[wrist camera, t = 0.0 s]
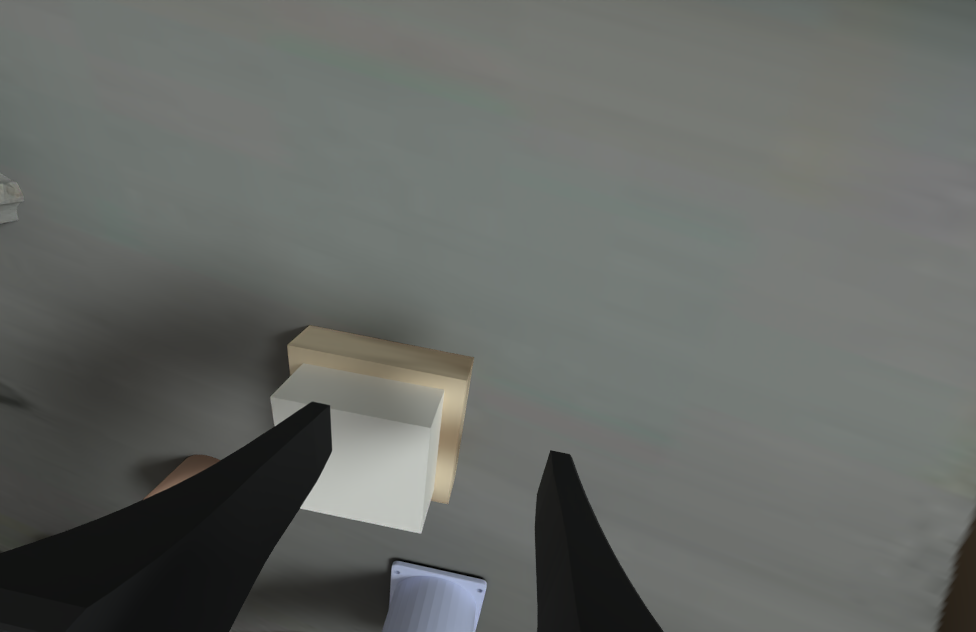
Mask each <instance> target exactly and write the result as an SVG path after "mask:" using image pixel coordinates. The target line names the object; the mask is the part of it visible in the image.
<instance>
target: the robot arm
mask: <svg viewBox="0 0 976 632" xmlns="http://www.w3.org/2000/svg"><path fill="white" fill-rule="evenodd" d="M331 452H332V435H331V414H330V405H327V404H322V403H317V402H313V401H312V402H310V403H309V404H307V405H306V406H304V407H303V408H301V409H300V410H298V411H297V412H295V413H294V414H292V415H291V416H289V417H288V418H286V419H285V420H284V421H282V422H281V423H279V424H278V425H276V426H275V427H273V428H272V429H270V430H269V431H267V432H266V433H264V434H262V435H261V436H259V437H258V438H256V439H255V440H253V441H252V442H250V443H249V444H247V445H245V446H244V447H242V448H241V449H239V450H237V451H236V452H234V453H232V454H231V455H229V456H227V457H226V458H224V459H222V460H221V461H219V462H217V463H216V464H214V465H212V466H210V467H209V468H207V469H205V470H203V471H201V472H199V473H198V474H196V475H194V476H192V477H190V478H188V479H186V480H184V481H182V482H180V483H178V484H176V485H174V486H172V487H170V488H168V489H166V490H164V491H161V492H159V493H157V494H155V495H153V496H150V497H148V498H146V499H144V500H142V501H139V502H137V503H135V504H133V505H131V506H128V507H126V508H124V509H121V510H119V511H116V512H114V513H112V514H109V515H107V516H104V517H102V518H99V519H97V520H94V521H91V522H89V523H86V524H84V525H81V526H78V527H76V528H73V529H70V530H68V531H65V532H62V533H59V534H57V535H54V536H51V537H48V538H45V539H42V540H39V541H36V542H33V543H30V544H27V545H24V546H21V547H18V548H15V549H12V550H9V551H6V552H3V553H0V632H229V631H230V629H231V627H232V625H233V623H234V621H235V619H236V617H237V615H238V613H239V611H240V609H241V607H242V605H243V603H244V601H245V599H246V597H247V595H248V594H249V592H250V590H251V588H252V586H253V584H254V582H255V581H256V579H257V577H258V575H259V573H260V571H261V569H262V567H263V566H264V564H265V562H266V560H267V559H268V557H269V555H270V554H271V552H272V550H273V549H274V547H275V545H276V544H277V542H278V541H279V539H280V538H281V536H282V535H283V533H284V532H285V530H286V529H287V527H288V526H289V524H290V523H291V521H292V519H293V518H294V516H295V515H296V513H297V512H298V510H299V509H300V507H301V506H302V504H303V503H304V501H305V500H306V498H307V496H308V495H309V493H310V492H311V490H312V489H313V487H314V486H315V484H316V482H317V481H318V479H319V477H320V475H321V473H322V471H323V469H324V467H325V465H326V463H327V461H328V459H329V457H330V455H331ZM535 549H536V576H537V603H538V627H537V632H663V630H662V629H661V627H660V626H659V624H658V623H657V622H656V620H655V619H654V617H653V616H652V615H651V613H650V612H649V610H648V609H647V607H646V606H645V604H644V603H643V601H642V599H641V598H640V596H639V595H638V593H637V592H636V590H635V588H634V587H633V585H632V584H631V582H630V580H629V579H628V577H627V575H626V574H625V572H624V570H623V568H622V567H621V565H620V563H619V561H618V560H617V558H616V556H615V554H614V552H613V550H612V549H611V547H610V545H609V543H608V541H607V539H606V537H605V535H604V533H603V531H602V529H601V527H600V525H599V523H598V521H597V518H596V516H595V514H594V512H593V510H592V507H591V505H590V503H589V501H588V498H587V496H586V494H585V491H584V489H583V486H582V484H581V481H580V479H579V476H578V473H577V471H576V468H575V465H574V462H573V459H572V457H571V455H570V454H566V453H561V452H556V451H551V450H550V453H549V457H548V460H547V463H546V467H545V470H544V473H543V476H542V480H541V483H540V486H539V489H538V493H537V502H536V516H535ZM486 588H487V582H486V581H485V580H483V579H479V578H474V577H470V576H465V575H461V574H456V573H452V572H447V571H443V570H438V569H433V568H429V567H424V566H420V565H415V564H411V563H406V562H402V561H394V562H393V564H392V567H391V584H390V601H389V610H388V613H387V617H386V620H385V623H384V626H383V629H382V632H475V630H476V626H477V623H478V619H479V615H480V611H481V607H482V603H483V599H484V596H485V592H486Z"/></svg>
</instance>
